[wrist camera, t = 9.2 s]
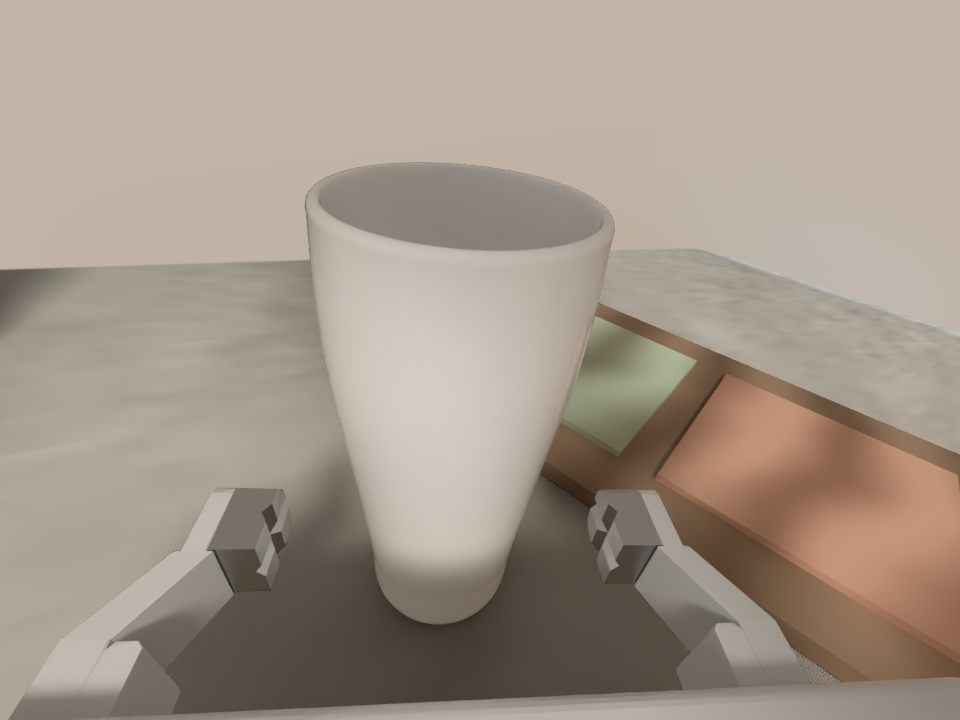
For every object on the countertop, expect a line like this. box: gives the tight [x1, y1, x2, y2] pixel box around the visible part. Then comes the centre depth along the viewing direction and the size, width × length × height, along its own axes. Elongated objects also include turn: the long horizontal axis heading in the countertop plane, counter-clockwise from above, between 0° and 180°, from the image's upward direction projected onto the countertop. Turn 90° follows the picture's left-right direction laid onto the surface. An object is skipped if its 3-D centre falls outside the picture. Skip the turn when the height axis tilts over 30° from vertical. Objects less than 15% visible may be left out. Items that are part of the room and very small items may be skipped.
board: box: [541, 303, 960, 682], centre depth 26 cm, size 30×18×1 cm, turn 49°
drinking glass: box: [305, 162, 615, 625], centre depth 14 cm, size 7×7×15 cm
